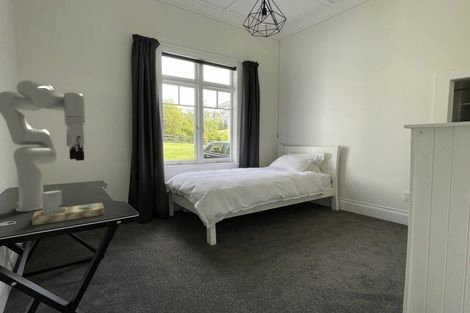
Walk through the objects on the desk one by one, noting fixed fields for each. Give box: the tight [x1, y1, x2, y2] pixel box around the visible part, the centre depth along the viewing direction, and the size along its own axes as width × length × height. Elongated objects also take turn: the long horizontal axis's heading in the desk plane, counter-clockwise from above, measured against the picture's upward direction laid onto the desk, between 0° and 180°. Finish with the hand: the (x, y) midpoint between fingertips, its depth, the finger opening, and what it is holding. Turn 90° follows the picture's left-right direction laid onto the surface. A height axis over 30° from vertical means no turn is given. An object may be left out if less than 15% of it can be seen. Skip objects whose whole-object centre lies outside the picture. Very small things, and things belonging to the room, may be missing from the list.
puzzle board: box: [31, 202, 105, 226], centre depth 110 cm, size 26×12×3 cm, turn 123°
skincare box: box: [42, 190, 63, 216], centre depth 107 cm, size 6×4×12 cm
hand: (76, 159), depth 109 cm, fingers open, 9 cm apart
